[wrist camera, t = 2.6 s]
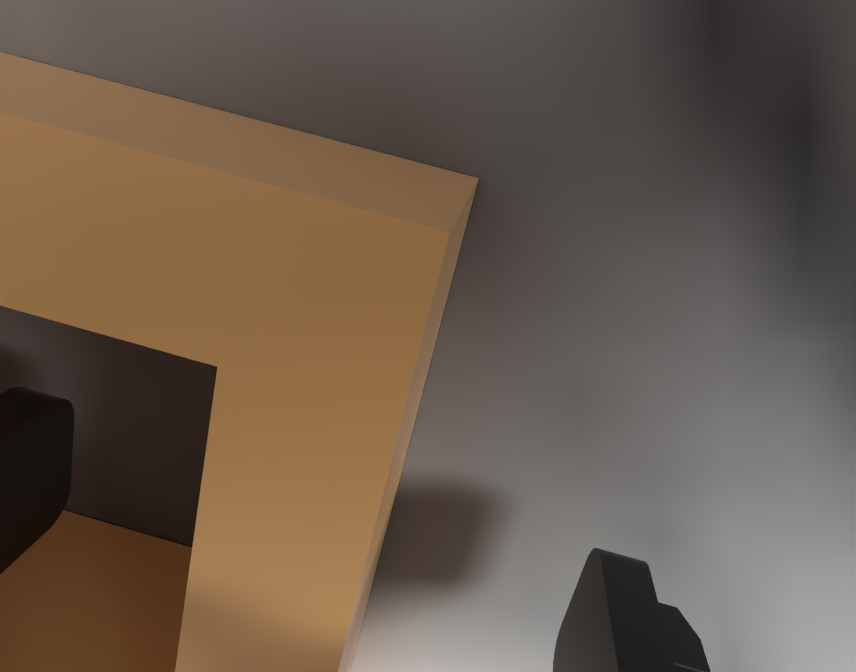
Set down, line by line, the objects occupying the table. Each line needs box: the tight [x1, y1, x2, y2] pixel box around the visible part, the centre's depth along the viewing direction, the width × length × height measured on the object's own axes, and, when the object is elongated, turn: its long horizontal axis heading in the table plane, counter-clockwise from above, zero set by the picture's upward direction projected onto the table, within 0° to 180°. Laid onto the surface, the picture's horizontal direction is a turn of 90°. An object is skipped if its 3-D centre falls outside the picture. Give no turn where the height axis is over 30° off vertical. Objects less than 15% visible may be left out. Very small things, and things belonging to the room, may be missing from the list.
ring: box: [0, 52, 479, 672], centre depth 10 cm, size 10×10×4 cm
